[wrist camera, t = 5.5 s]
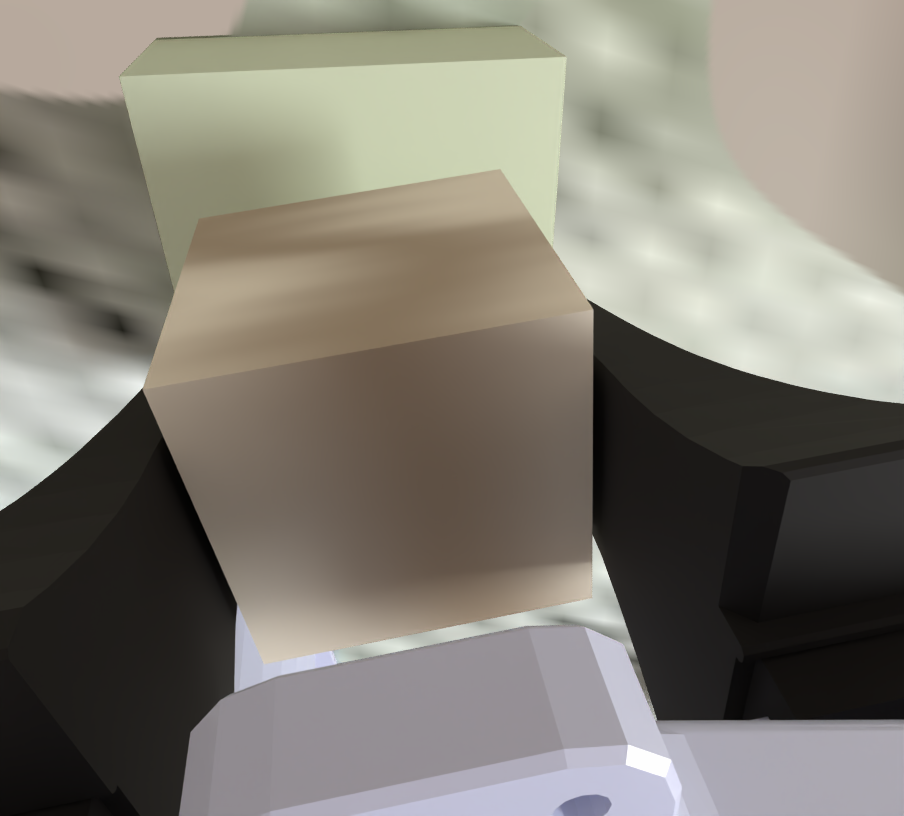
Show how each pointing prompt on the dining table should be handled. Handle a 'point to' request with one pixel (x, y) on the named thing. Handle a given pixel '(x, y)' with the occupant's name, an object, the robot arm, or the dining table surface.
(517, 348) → the cream cube
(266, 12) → the dining table surface
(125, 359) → the dining table surface
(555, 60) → the sage base block
